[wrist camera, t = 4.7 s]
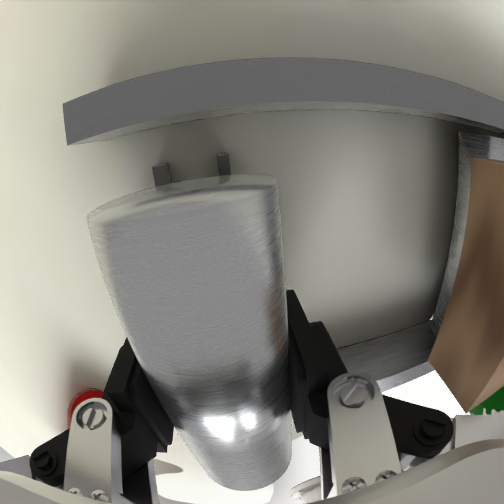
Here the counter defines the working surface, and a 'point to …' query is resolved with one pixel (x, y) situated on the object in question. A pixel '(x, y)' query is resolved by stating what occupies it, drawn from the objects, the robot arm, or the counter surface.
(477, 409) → the milk carton
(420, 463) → the robot arm
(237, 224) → the roller
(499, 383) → the slab
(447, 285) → the roller
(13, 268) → the counter surface
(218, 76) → the track
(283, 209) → the counter surface
